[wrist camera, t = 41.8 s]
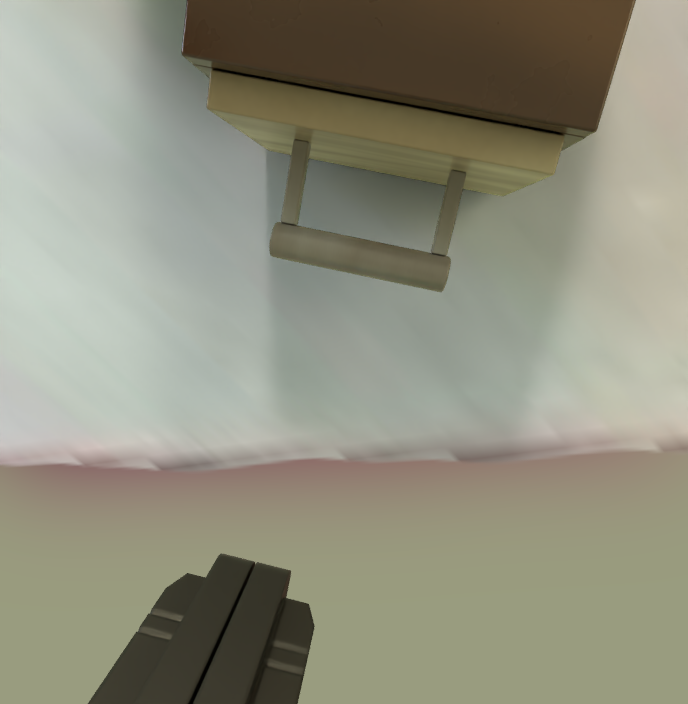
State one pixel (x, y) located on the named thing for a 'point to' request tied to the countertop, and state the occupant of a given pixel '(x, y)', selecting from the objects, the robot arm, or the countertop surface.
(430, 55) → the cabinet
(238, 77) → the drawer
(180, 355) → the countertop surface
